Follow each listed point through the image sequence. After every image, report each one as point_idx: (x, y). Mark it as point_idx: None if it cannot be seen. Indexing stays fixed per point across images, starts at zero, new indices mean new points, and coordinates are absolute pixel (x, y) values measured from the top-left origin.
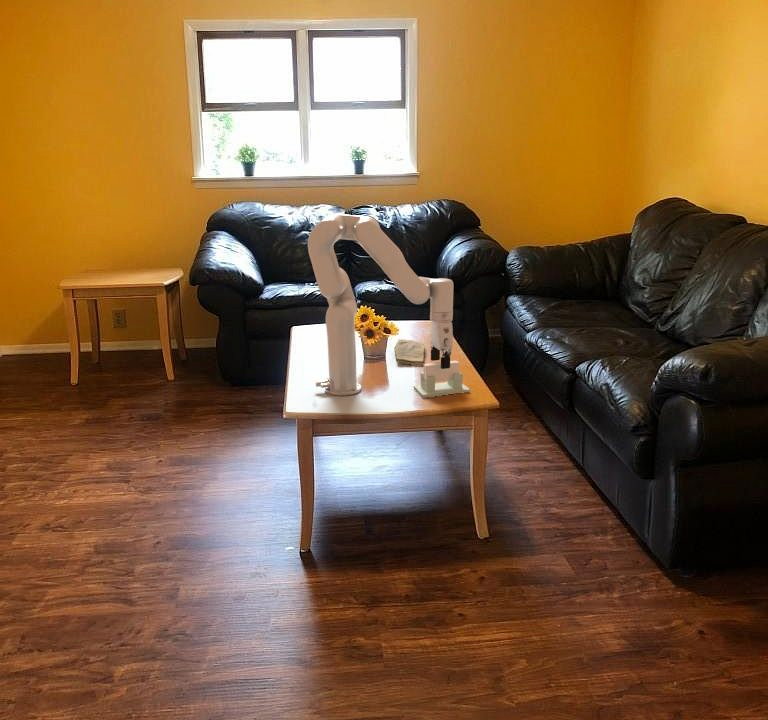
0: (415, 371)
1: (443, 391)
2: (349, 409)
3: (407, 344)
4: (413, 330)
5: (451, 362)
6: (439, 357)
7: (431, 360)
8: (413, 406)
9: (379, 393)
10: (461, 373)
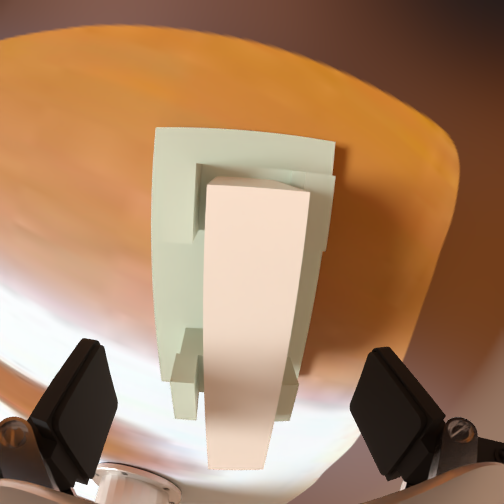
0: None
1: (301, 294)
2: (275, 497)
3: None
4: None
5: (268, 285)
6: (94, 360)
7: (113, 403)
8: (347, 411)
9: (181, 453)
10: (319, 177)
